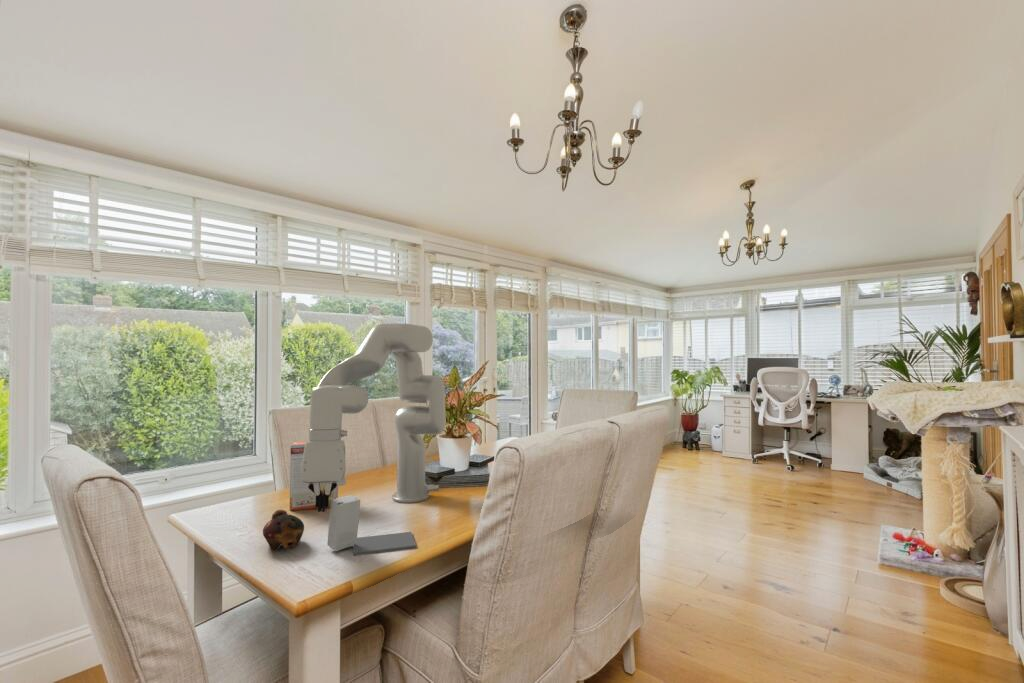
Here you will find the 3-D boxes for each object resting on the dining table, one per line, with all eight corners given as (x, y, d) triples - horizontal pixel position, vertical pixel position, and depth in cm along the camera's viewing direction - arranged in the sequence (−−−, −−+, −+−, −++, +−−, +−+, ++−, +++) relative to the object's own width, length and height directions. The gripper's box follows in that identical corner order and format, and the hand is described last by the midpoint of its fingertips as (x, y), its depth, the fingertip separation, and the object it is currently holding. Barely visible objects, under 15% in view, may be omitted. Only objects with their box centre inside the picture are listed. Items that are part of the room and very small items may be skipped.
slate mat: (411, 533, 130) (411, 531, 130) (415, 547, 121) (415, 545, 121) (353, 540, 125) (353, 538, 125) (353, 555, 116) (353, 552, 116)
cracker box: (338, 502, 158) (339, 439, 159) (335, 507, 152) (337, 442, 153) (292, 505, 155) (294, 440, 156) (288, 511, 149) (290, 444, 150)
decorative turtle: (292, 533, 130) (295, 504, 131) (312, 553, 119) (315, 521, 119) (253, 540, 124) (256, 509, 124) (270, 562, 113) (274, 529, 113)
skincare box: (348, 538, 124) (352, 493, 123) (357, 545, 121) (361, 499, 120) (325, 545, 119) (330, 498, 118) (334, 552, 116) (339, 504, 115)
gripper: (356, 433, 125) (353, 504, 123) (294, 434, 120) (290, 508, 119) (356, 436, 118) (353, 512, 116) (290, 438, 113) (286, 517, 112)
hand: (321, 510), depth 118 cm, fingers closed
